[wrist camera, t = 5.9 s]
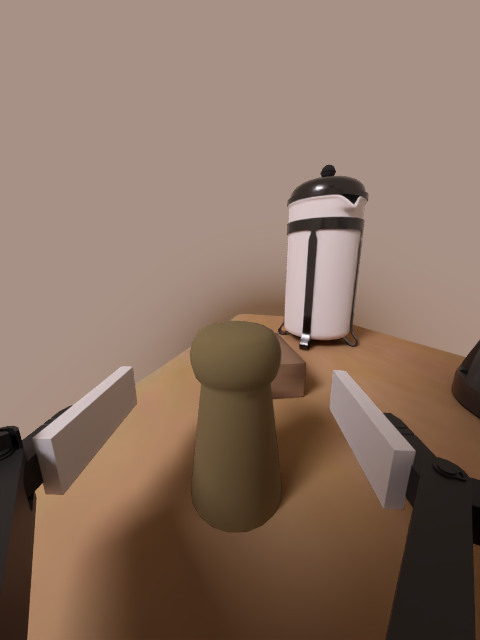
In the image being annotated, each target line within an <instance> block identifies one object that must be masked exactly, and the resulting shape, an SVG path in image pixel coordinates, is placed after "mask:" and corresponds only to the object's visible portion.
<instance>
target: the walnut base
mask: <svg viewBox="0 0 480 640" xmlns="http://www.w3.org/2000/svg"><path fill="white" fill-rule="evenodd" d="M274 334H275V336H276V337H277V339H278V341H279V342H280V347H281V363H280V366H279V369H278V372H277V376H276V378H275V379H274V380H273V381H272V382H271V391H272V399H278V398H292V397H304V384H305V370H306V363H305V361H304V360H303V359H302V358H301V357H300V356H299V355H298V354H297V353H296V352H295V351H294V350H293V349H292V348H291V347H290V346H289V345H288V344H287V343H286V342H285V341H284V340H283V339H282V338H281V336H280V335H279V334H278V333H274Z"/></svg>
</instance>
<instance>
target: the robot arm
mask: <svg viewBox="0 0 480 640" xmlns="http://www.w3.org/2000/svg"><path fill="white" fill-rule="evenodd" d="M452 393H453V395H454V397H455V398H456V399H457V400H458V401H459V402H460V403H461V404H462V405H463V406H464V407H465V408H467V409H468V410H469V411H471V412H472V413H474V414H475V415H477V416H478V417H480V340H479V341H478V343H477V344H476V345H475V347H474V348H473V349H472V350H471V352H470V353H469V354H468V356H467V357H466V358H465V359H464V361H463V362H462V364H461V365H460V366H459V367H458V369H457V370H456V372H455V376H454V380H453V384H452ZM136 404H137V398H136V389H135V381H134V372H133V367H126V366H122V367H120V368H119V369H118V370H117V371H115V372H114V373H113V374H112V375H110V376H109V377H108V378H107V379H105V380H104V381H103V382H102V383H100V384H99V385H98V386H97V387H95V388H94V389H93V390H92V391H90V392H89V393H88V394H87V395H85V396H84V397H83V398H82V399H80V400H79V401H78V402H77V403H75V404H74V405H71V406H69V407H67V408H65V409H63V410H61V411H59V412H58V413H57V414H56V415H54V416H53V417H52V418H51V419H49V420H48V421H46V422H45V423H44V425H41V426H40V427H39V428H37V429H36V430H35V431H34V432H32V433H31V434H30V435H28V436H27V437H26V438H25V439H23V440H21V436H20V432H19V429H18V427H16V426H7V427H2V428H0V640H27V634H28V619H29V604H30V589H31V574H32V559H33V544H34V529H35V513H36V494H35V490H36V489H37V488H38V487H39V486H40V485H41V484H42V483H43V485H44V489H45V493H46V494H54V495H64V493H65V492H66V491H67V490H68V488H69V487H70V486H71V485H72V483H73V482H74V481H75V480H76V478H77V477H78V476H79V475H80V474H81V472H82V471H83V470H84V469H85V467H86V466H87V465H88V464H89V462H90V461H91V460H92V459H93V457H94V456H95V455H96V454H97V452H98V451H99V450H100V449H101V448H102V446H103V445H104V444H105V443H106V441H107V440H108V439H109V438H110V436H111V435H112V434H113V433H114V431H115V430H116V429H117V428H118V426H119V425H120V424H121V423H122V422H123V420H124V419H125V418H126V417H127V415H128V414H129V413H130V412H131V410H132V409H133V408H134V407H135V405H136ZM329 409H330V410H331V412H332V414H333V416H334V418H335V420H336V422H337V423H338V425H339V427H340V429H341V431H342V433H343V435H344V436H345V438H346V440H347V442H348V444H349V446H350V447H351V449H352V451H353V453H354V455H355V457H356V459H357V460H358V462H359V464H360V466H361V468H362V470H363V472H364V473H365V475H366V477H367V479H368V481H369V483H370V485H371V486H372V488H373V490H374V492H375V494H376V496H377V498H378V499H379V501H380V503H381V505H382V507H383V509H400V510H404V505H405V500H406V498H407V499H408V501H409V502H410V504H411V505H412V507H413V511H412V515H411V520H410V524H409V529H408V534H407V539H406V544H405V549H404V553H403V558H402V563H401V568H400V572H399V577H398V582H397V587H396V591H395V596H394V601H393V606H392V611H391V615H390V620H389V625H388V630H387V634H386V639H385V640H476V638H475V603H474V568H473V543H474V544H476V545H479V546H480V480H477V479H474V478H470V477H469V476H468V475H467V474H466V473H465V471H464V470H462V469H461V468H460V467H458V466H457V465H455V464H454V463H452V462H450V461H448V460H445V459H442V458H439V457H436V456H435V455H434V454H433V453H432V452H431V451H430V450H429V449H428V448H427V447H426V446H425V445H424V444H423V443H422V441H421V440H420V439H419V438H418V437H417V436H415V435H414V433H413V432H412V431H411V430H410V429H408V427H407V426H406V425H405V424H404V423H403V422H402V421H401V420H400V419H399V418H397V417H396V416H394V415H392V414H391V413H382V412H381V411H380V410H379V408H378V407H377V406H376V405H375V404H374V403H373V402H372V400H371V399H370V398H369V397H368V396H367V395H366V394H365V392H364V391H363V390H362V389H361V388H360V387H359V386H358V384H357V383H356V382H355V381H354V380H353V379H352V378H351V377H350V375H349V374H348V373H347V372H346V371H339V370H333V377H332V387H331V397H330V407H329Z"/></svg>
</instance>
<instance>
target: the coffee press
mask: <svg viewBox="0 0 480 640" xmlns="http://www.w3.org/2000/svg"><path fill="white" fill-rule="evenodd" d="M335 172H336V171H335V168H334V166H332V165H326V166H325V167H324V168H323V169H322V172H321V176H322V177H321V178H316V179H313V180H309V181H307V182H305V183H303V184H301V185H299V186H298V187H297V188H296V189H295V190H294V191H293V193H292V195H291V198H290V199H289V200H288V203H287V206H288V209H289V223H288V224H287V235H288V249H287V270H286V272H287V273H286V293H285V314H284V322H283V324H282V325H281V326H280V328H279V329H278V332H279V333H280V334H285V333H286V332H290V333H291V334H293V335H296V336H299V337H301V341H300V345H299V347H300V349H304V350H309V347H310V343H311V341H312V340H313V339H314V340H333V339H339V338H341V339H343V340H345V341H346V342H347V343H348V344H349V345H350V346H356V344H357V342H358V339H357V337H356V335H355V334H354V332H353V329H352V327H353V316H354V307H355V298H356V290H357V281H358V272H359V264H360V256H361V247H362V238H363V228H364V220H363V214H364V207H365V204H366V203H367V201H368V193H367V192H365V188H364V185H363V184H362V183H361V182H360V181H358V180H357V179H354V178H351V177H346V176H334V175H335ZM361 233H362V234H361ZM351 318H352V319H351ZM283 325H285V328H286V330H287V331H286V332H282V330H281V328H282V326H283ZM350 326H351V334H352V336H353V337H354V339H355V340H356V343H354V344H353V343H351V342H350V341H349V340H348V339H347V338H346V337H344V336H346V335H347V334H348V333H349V331H350Z"/></svg>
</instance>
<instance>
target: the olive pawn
mask: <svg viewBox="0 0 480 640" xmlns="http://www.w3.org/2000/svg"><path fill="white" fill-rule="evenodd" d="M190 360H191V365H192V368H193V371H194V374H195V376H196V379H197V380H198V381H199V382H200V383H201V393H200V403H199V413H198V423H197V433H196V443H195V453H194V463H193V473H192V483H191V495H192V501H193V505H194V507H195V509H196V510H197V512H198V514H199V515H200V517H201V518H202V519H204V520H205V521H206V522H207V523H208V524H210V525H211V526H212V527H214V528H217V529H220V530H223V531H226V532H246V531H249V530H251V529H254V528H256V527H259V526H262V525H263V524H264V523H265V522H266V521H267V520H268V519H269V518H270V517H272V516H273V515H274V513H275V511H276V509H277V507H278V505H279V503H280V500H281V493H282V483H281V474H280V464H279V455H278V446H277V437H276V428H275V419H274V409H273V400H272V391H271V382H272V381H273V380H274V379H275V378H276V376H277V372H278V369H279V366H280V363H281V347H280V342H279V341H278V339H277V337H276V336H275V334H274V332H273V331H272V330H271V329H269V328H267V327H266V326H264V325H261V324H258V323H252V322H246V321H227V322H221V323H215V324H211V325H208V326H206V327H205V328H203V329H202V330H200V331H199V332H198V333H197V335H196V337H195V338H194V340H193V342H192V345H191V350H190Z"/></svg>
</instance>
